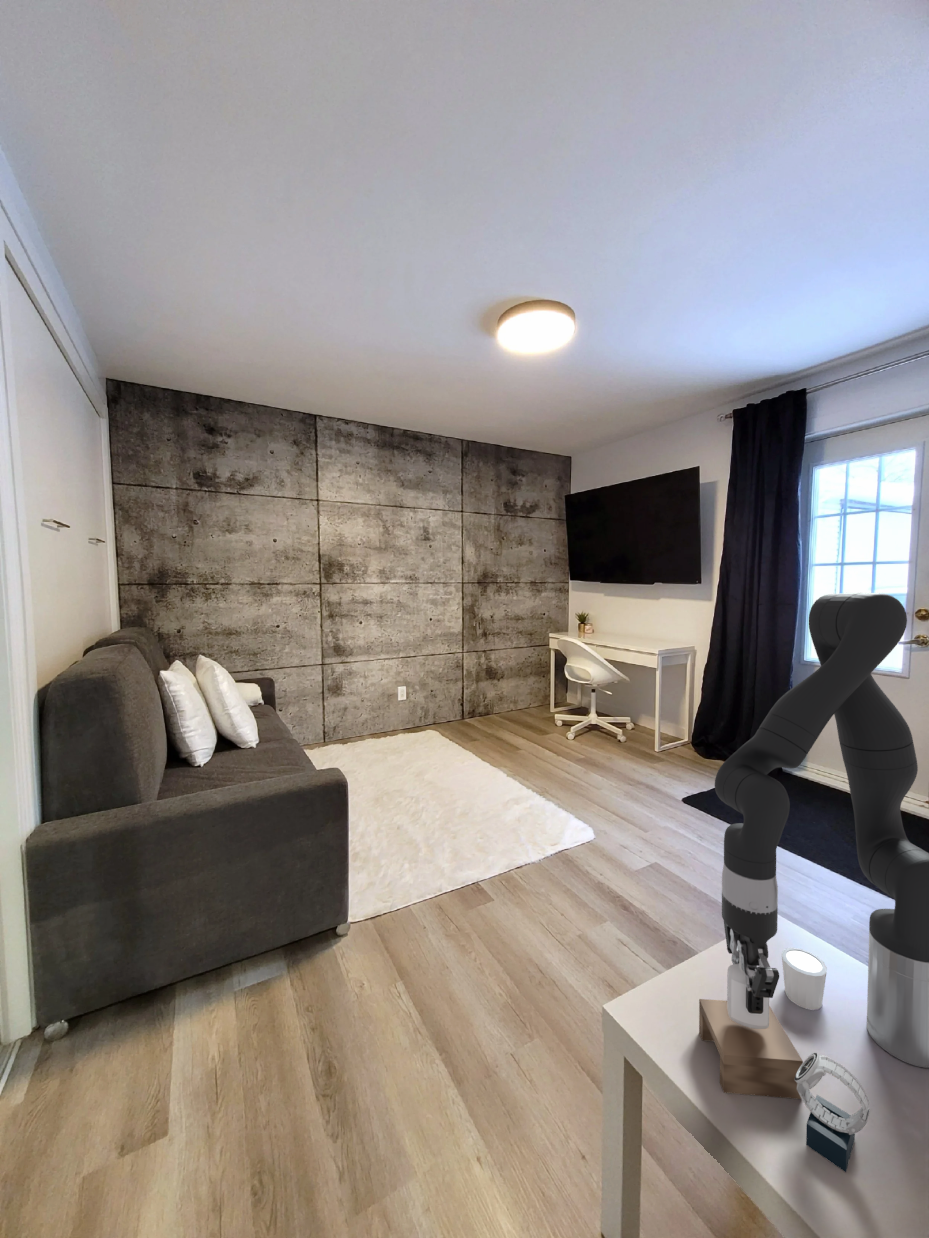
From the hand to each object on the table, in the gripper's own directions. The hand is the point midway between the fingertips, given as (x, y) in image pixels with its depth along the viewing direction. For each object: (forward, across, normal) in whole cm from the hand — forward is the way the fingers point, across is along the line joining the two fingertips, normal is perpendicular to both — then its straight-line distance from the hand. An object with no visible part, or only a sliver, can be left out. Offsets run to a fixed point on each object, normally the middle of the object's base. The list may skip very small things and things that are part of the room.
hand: (748, 999), depth 77 cm
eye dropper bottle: (+3, 0, 0) cm, 3 cm away
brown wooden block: (+11, 0, 0) cm, 11 cm away
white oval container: (+11, +14, -16) cm, 24 cm away
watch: (+11, -10, -6) cm, 16 cm away
